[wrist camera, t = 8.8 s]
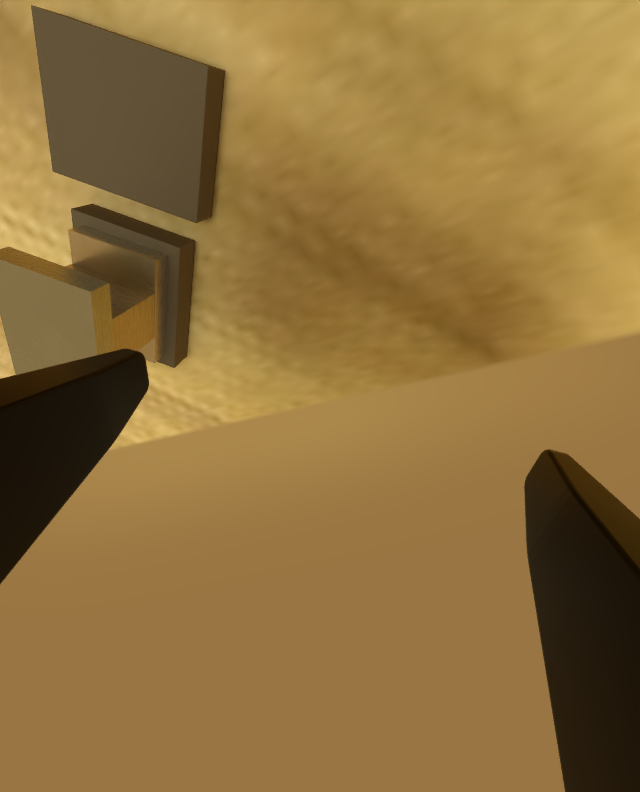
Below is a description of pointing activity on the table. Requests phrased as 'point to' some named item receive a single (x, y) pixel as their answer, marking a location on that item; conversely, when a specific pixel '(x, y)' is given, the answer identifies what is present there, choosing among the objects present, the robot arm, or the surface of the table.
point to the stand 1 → (129, 115)
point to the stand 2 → (177, 270)
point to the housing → (83, 301)
